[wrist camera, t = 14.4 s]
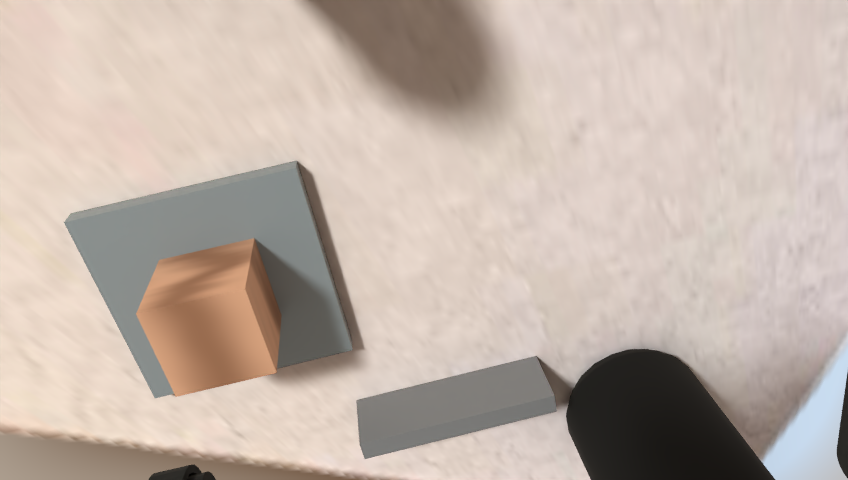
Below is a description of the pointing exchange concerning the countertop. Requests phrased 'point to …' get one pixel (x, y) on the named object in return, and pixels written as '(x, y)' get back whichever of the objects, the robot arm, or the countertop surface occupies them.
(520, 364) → the grey long block
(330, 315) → the board
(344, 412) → the countertop surface
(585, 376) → the coffee jar
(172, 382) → the lettered block
